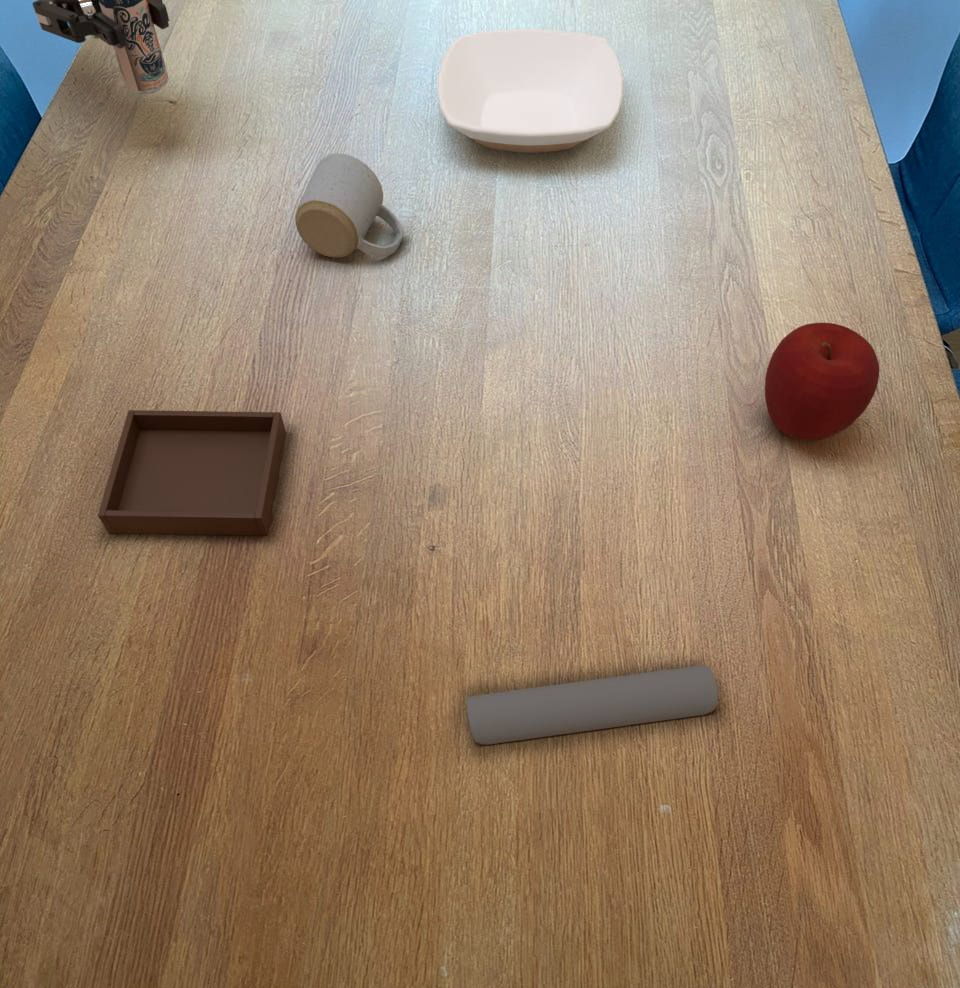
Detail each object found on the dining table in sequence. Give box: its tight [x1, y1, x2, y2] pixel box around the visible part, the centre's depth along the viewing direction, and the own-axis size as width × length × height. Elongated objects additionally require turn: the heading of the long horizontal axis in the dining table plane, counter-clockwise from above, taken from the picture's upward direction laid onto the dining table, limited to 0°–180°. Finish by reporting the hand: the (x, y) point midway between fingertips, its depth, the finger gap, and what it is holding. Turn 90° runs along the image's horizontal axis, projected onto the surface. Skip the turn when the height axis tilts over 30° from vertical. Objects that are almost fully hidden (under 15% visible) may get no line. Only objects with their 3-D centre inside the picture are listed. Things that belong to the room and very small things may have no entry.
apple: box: [764, 322, 880, 441], centre depth 85 cm, size 10×10×10 cm
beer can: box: [98, 0, 169, 95], centre depth 101 cm, size 5×5×12 cm
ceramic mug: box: [294, 153, 404, 258], centre depth 100 cm, size 11×8×8 cm
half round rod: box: [465, 664, 719, 745], centre depth 73 cm, size 4×20×2 cm, turn 98°
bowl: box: [437, 28, 624, 154], centre depth 112 cm, size 22×22×5 cm
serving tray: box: [97, 409, 287, 537], centre depth 85 cm, size 14×12×3 cm
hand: (142, 28), depth 99 cm, fingers closed on beer can, 4 cm apart
